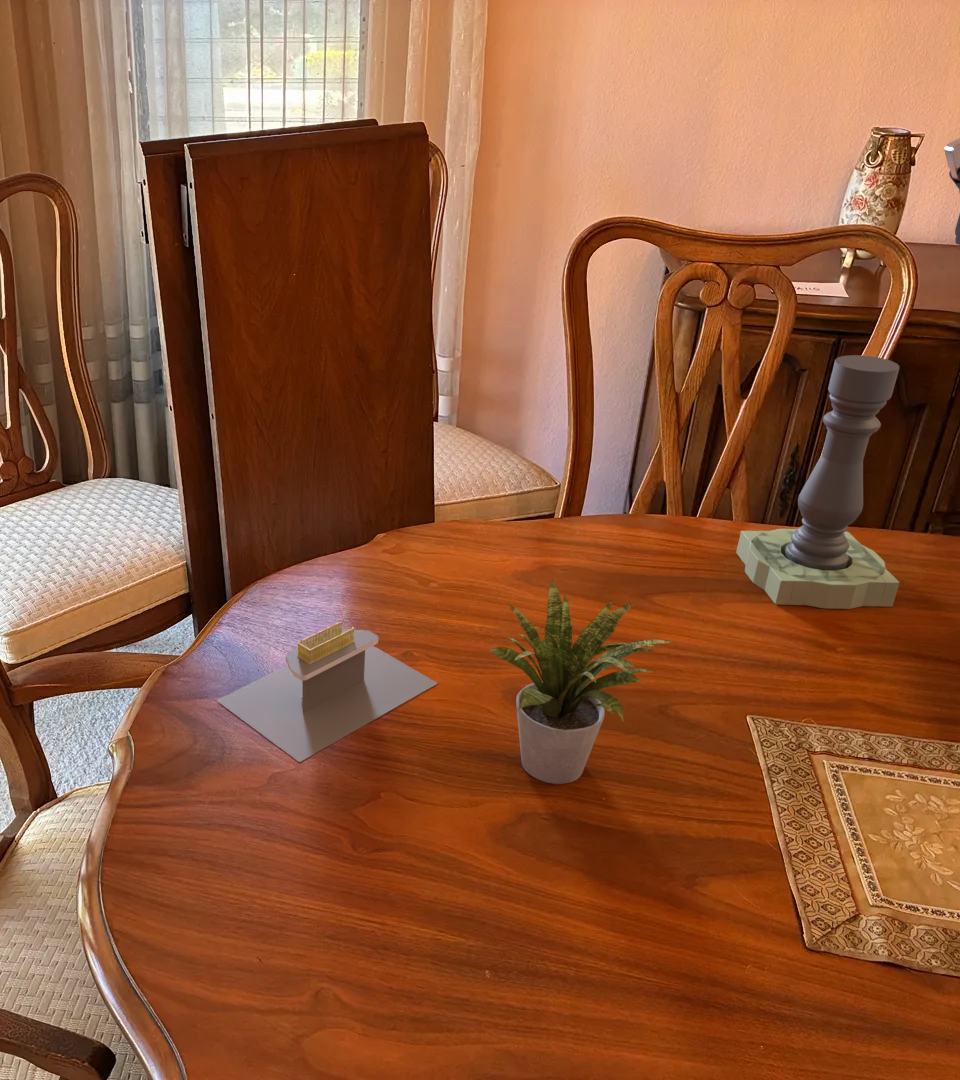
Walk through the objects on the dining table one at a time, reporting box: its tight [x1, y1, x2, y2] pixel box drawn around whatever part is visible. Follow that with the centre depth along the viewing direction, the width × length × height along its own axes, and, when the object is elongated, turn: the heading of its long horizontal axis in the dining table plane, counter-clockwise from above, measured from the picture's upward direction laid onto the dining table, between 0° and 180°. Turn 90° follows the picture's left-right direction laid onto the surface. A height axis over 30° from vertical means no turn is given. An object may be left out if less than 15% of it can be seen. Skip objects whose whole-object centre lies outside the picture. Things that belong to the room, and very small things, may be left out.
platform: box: [216, 620, 438, 763], centre depth 95 cm, size 12×18×7 cm, turn 129°
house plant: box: [488, 578, 677, 785], centre depth 81 cm, size 14×14×16 cm
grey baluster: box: [784, 354, 900, 571], centre depth 107 cm, size 6×6×25 cm
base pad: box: [735, 528, 900, 610], centre depth 112 cm, size 13×13×3 cm
